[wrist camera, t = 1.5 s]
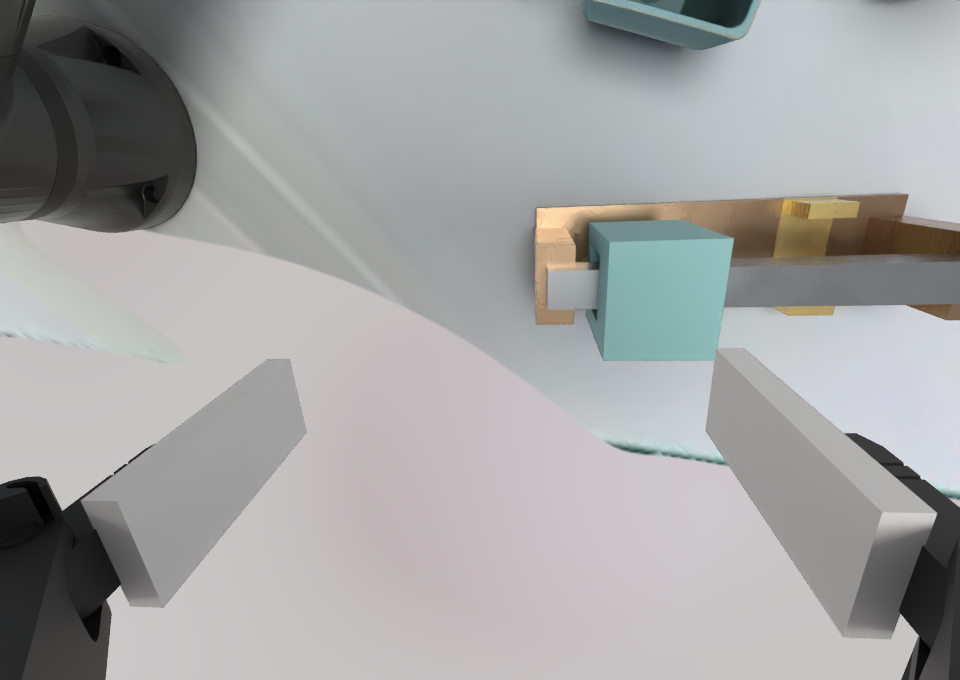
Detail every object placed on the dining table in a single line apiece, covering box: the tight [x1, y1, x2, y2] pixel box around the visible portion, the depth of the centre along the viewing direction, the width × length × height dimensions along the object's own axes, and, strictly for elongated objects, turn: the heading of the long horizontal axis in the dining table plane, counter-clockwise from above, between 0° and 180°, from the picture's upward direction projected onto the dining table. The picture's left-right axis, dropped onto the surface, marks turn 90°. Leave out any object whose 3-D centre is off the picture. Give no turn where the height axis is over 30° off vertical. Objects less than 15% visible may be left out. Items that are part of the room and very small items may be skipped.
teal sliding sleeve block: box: [586, 219, 734, 361], centre depth 28 cm, size 6×7×8 cm
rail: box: [534, 194, 960, 325], centre depth 31 cm, size 26×8×10 cm, turn 93°
